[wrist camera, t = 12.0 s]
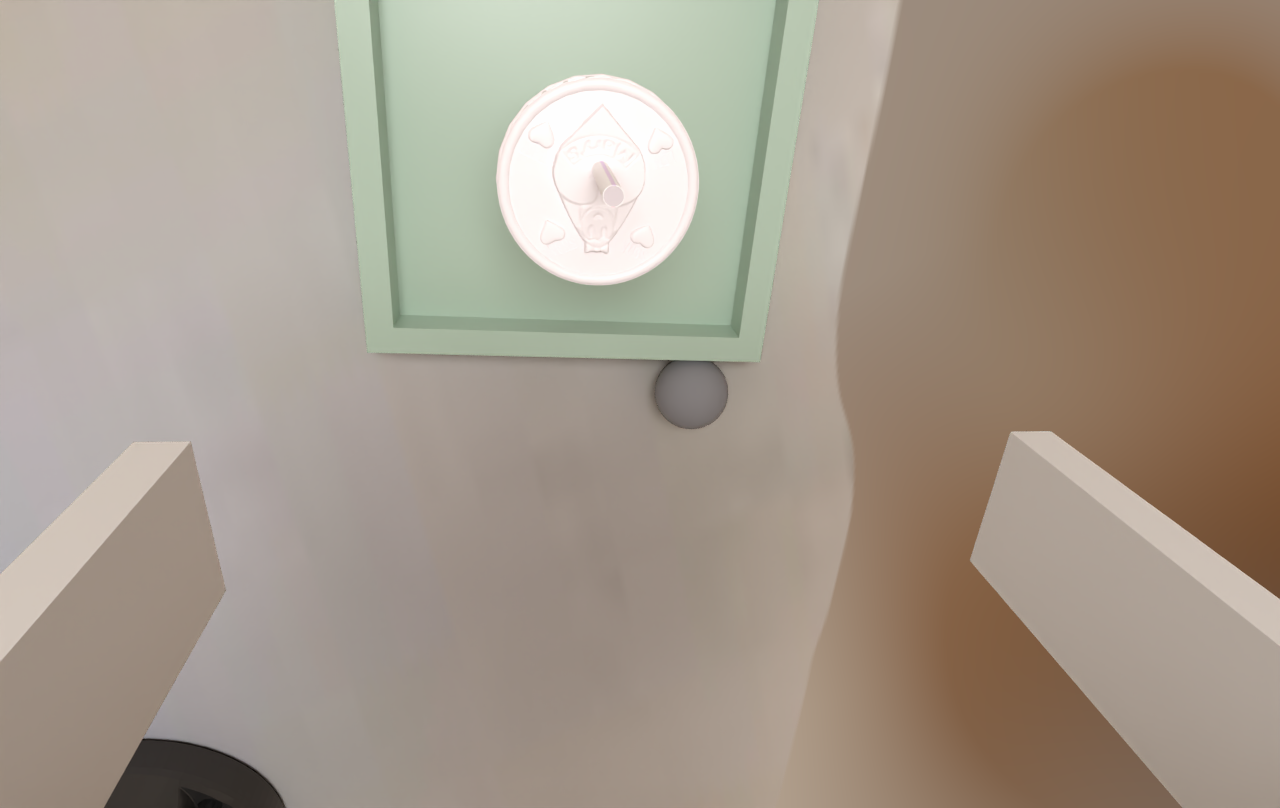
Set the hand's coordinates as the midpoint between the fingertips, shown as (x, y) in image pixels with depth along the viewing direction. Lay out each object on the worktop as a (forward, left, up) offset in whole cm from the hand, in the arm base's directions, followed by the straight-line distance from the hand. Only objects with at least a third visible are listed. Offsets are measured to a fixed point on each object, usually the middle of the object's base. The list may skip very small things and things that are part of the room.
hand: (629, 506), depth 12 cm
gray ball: (+6, -8, -24) cm, 26 cm away
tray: (0, +3, -24) cm, 24 cm away
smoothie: (0, +3, -23) cm, 23 cm away
